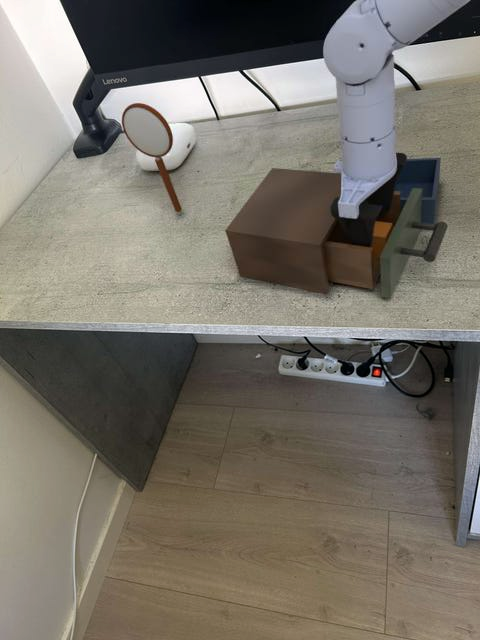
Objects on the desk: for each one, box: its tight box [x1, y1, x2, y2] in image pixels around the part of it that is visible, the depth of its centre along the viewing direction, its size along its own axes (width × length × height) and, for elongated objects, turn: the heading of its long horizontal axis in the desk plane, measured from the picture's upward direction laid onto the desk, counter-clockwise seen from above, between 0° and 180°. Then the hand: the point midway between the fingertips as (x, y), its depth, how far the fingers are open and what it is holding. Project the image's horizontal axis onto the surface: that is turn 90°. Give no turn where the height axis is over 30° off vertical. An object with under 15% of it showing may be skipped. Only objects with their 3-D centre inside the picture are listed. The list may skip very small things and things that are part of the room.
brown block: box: [370, 221, 393, 260], centre depth 64 cm, size 4×3×4 cm, turn 62°
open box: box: [395, 157, 442, 224], centre depth 71 cm, size 10×8×4 cm
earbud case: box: [135, 122, 197, 172], centre depth 98 cm, size 10×13×5 cm
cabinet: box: [225, 167, 342, 295], centre depth 68 cm, size 14×15×9 cm
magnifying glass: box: [121, 102, 183, 216], centre depth 78 cm, size 9×2×20 cm, turn 65°
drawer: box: [323, 188, 449, 299], centre depth 63 cm, size 17×13×7 cm
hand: (371, 228), depth 62 cm, fingers open, 7 cm apart
